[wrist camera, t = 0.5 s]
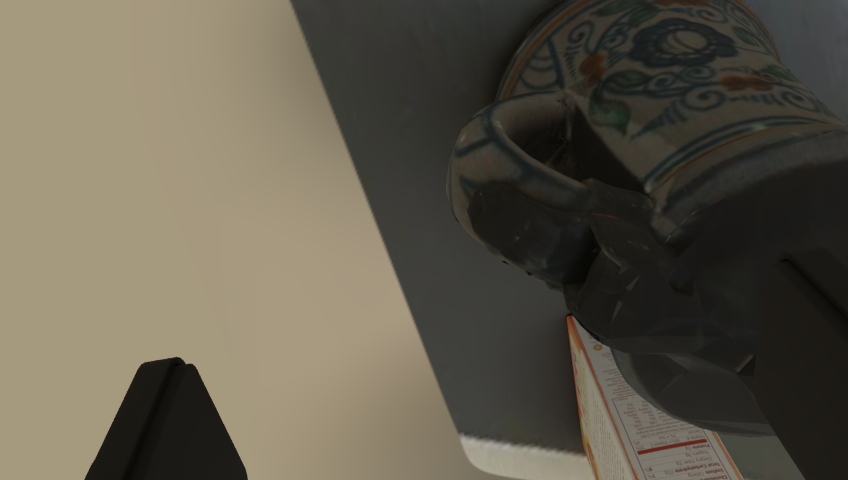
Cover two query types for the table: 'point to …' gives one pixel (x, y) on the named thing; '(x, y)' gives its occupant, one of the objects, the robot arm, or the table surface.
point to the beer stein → (656, 187)
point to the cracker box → (636, 425)
